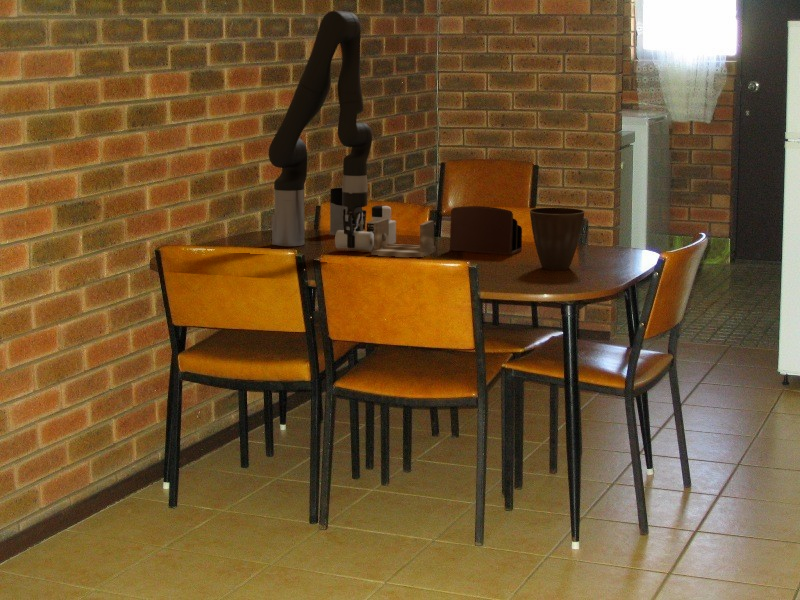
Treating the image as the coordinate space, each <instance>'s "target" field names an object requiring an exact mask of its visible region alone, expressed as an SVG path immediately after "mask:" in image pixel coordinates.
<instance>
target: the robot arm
mask: <svg viewBox="0 0 800 600" xmlns="http://www.w3.org/2000/svg"><path fill="white" fill-rule="evenodd" d="M361 30H362V28H361V23H360V19H359V18H358V16H357V15H356V14H354V13H353V12H350V11H343V10H331V11H328V12H327V13H326V14H324V16H323V18H322V19H321V21H320V24H319V27H318V31H317V34H316V37H315V41H314V44H313V47H312V50H311V52H310V55H309V57H308V60H307V63H306V65H305V67H304V71H303V73H302V75H301V77H300V79H299V81H298V84H297V87H296V89H295V90H294V91H295V92H294V95H293V97H292V99H291V102H290V104H289V105H288V109H287V111H286V113H285V116H284V118H283V120H282V122H281V124H280V125H279V128H278V130H277V132H275V135H274V137H273V139H272V140H271V142H270V144H269V148H268V160H269V162H270V164H271V165H273V166H274V167H275V168H277V169H281V173H280V175H278V177H277V178H276V179H275V180H274V182H273V190H274V191H273V195H274V196H273V197H274V202H273V203H274V213H272V214H271V226H272V227H271V230H272V233H271V234H272V238H271V239H272V245H273V246H279V247H300V246H304V245H306V244H305V242H306V241H305V240H306V237H305V235H306V234H305V233H306V232H305V183H306V181H307V174H308V149H307V146H306V143H305V142H304V139H301V138H300V136H301V134H302V132H303V131H304V130H305V128H306V127H307V126H308V124H309V123H310V122H312V120H313V119H315V117H316V115H318V113H319V112H320V110H322V107H323V105H324V104H325V102H326V99H327V97H328V95H329V92H330V91H331V90H330V89H331V85H332V71H331V69H332V60H333V57H334V55H335V53H336V51H337V48H338V46H339V45H340V46H339V47H340V50H341V67H340V72H339V75H338V80H337V94H338V96H337V97H338V104H339V113H338V114H339V115H338V123H337V136H338V137H337V138H338V140H339V141H340V143H341V144H342V146H344V147H346V148H351V151H350V153H349V154H347V155H345V156H344V158H343V164H342V165H343V166H342V168H343V171H342V174H343V175H342V185H341V188H342V205H343V206H345V207H348V209H347V214H346V215H343V226H344V234H346V235H347V247H348V248H354V247H355V231H363V232H364V231H365V230H366V225H367V222H366V220H367V210H366V209H363V208H365V207H367V206H368V189H369V187H368V185H369V184H368V176H367V175H368V165H367V164H368V163H367V162H368V159H369V155H370V151H371V147H372V143H373V133H372V129H371V127H370V126H369V124H367V123H365V122H357V119H358V115H359V114H361V113H362V112H363V111H364V98H363V91H362V83H361V82H362V81H361V38H362V37H361V34H362V33H361Z"/></svg>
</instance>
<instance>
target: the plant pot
mask: <svg viewBox="0 0 800 600" xmlns="http://www.w3.org/2000/svg"><path fill="white" fill-rule="evenodd" d="M585 213H586V212H585V210H584V209H579V208H570V207H539V208H533V209H530V210H529V215H530V224H531V230H532V236H533V240H534V245H535V248H536V249H535V250H536V253H537V256H538V261H539V263H540V265H541V268H542V269H544V270H548V271H565V270H569V268H570V266H571V265H572V261H573V259H574V257H575V254H576V250H577V247H578V244H579V241H580V236H581V234H582V233H581V232H582V228H583V223H584V218H585Z"/></svg>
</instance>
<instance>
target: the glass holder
mask: <svg viewBox="0 0 800 600" xmlns="http://www.w3.org/2000/svg"><path fill="white" fill-rule="evenodd" d="M329 202H330V203H329V224H330V225H329V226H330V227H329V228H330V230H329V233H328V235H330V236H334V235H336V232H337V231H338V230H344V226H343V215H346V214H347V209H348V207H345V206H343V205H342V187H334V188H333V187H332V188H330V201H329Z"/></svg>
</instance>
